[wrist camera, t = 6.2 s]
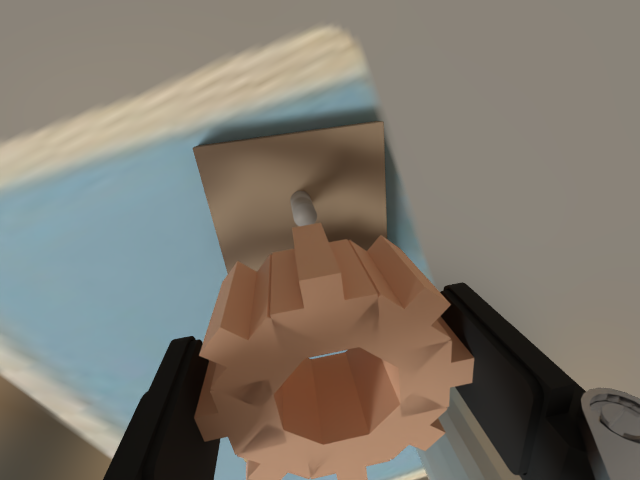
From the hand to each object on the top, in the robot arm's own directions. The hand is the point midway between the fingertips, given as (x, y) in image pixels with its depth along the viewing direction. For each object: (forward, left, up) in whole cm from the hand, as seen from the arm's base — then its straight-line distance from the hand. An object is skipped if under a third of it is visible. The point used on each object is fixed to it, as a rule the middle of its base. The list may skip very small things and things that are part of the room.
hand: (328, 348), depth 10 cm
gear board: (-4, 0, -18) cm, 18 cm away
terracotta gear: (0, 0, -1) cm, 1 cm away
